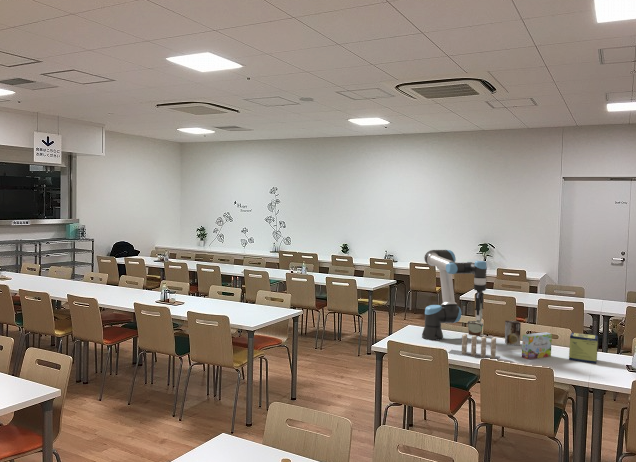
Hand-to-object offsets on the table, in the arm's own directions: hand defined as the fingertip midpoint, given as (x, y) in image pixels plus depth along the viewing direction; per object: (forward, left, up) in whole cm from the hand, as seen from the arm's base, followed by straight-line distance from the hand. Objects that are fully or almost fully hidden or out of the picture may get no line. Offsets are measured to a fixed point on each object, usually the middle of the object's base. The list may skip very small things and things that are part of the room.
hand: (478, 319), depth 349 cm
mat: (+1, -16, -21) cm, 26 cm away
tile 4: (-5, -16, -20) cm, 26 cm away
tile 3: (+1, -16, -20) cm, 26 cm away
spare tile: (0, 0, -2) cm, 2 cm away
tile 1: (+13, -16, -20) cm, 29 cm away
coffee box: (+17, +30, -21) cm, 40 cm away
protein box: (+62, +13, -21) cm, 67 cm away
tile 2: (+7, -16, -20) cm, 26 cm away
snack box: (+36, +3, -21) cm, 42 cm away
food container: (-11, +45, -21) cm, 51 cm away
